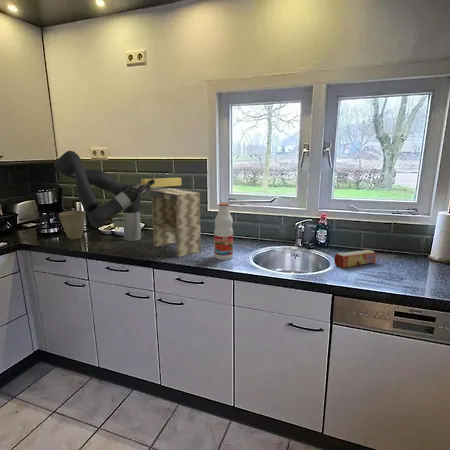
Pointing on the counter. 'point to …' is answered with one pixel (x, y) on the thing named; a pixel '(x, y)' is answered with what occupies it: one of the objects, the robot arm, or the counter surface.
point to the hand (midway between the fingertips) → (151, 180)
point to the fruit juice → (223, 233)
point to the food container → (118, 222)
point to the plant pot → (73, 223)
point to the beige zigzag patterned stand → (176, 219)
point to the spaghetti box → (163, 182)
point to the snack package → (355, 258)
